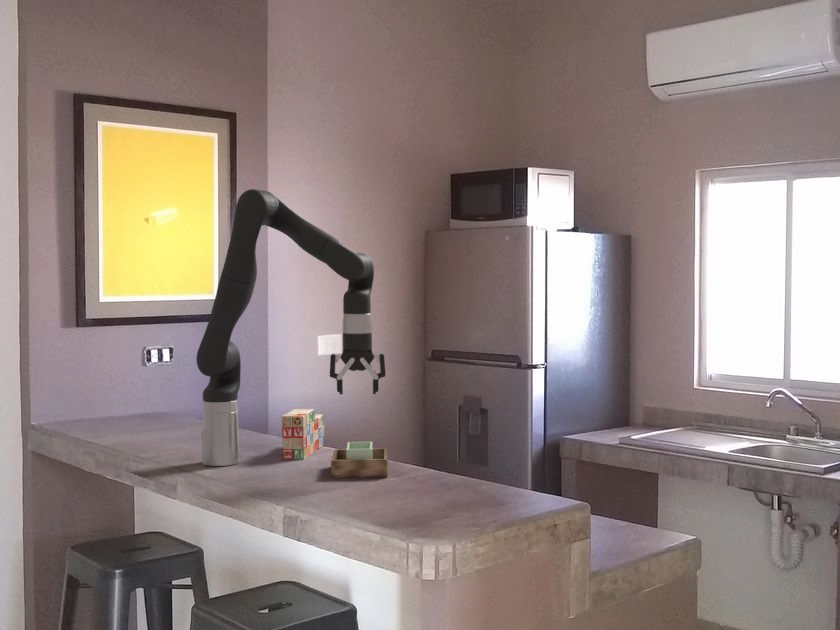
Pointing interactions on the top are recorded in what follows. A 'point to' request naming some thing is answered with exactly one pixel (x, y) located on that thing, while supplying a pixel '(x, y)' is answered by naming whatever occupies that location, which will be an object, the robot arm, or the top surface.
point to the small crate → (359, 450)
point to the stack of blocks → (301, 433)
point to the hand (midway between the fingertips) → (357, 394)
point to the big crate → (359, 465)
